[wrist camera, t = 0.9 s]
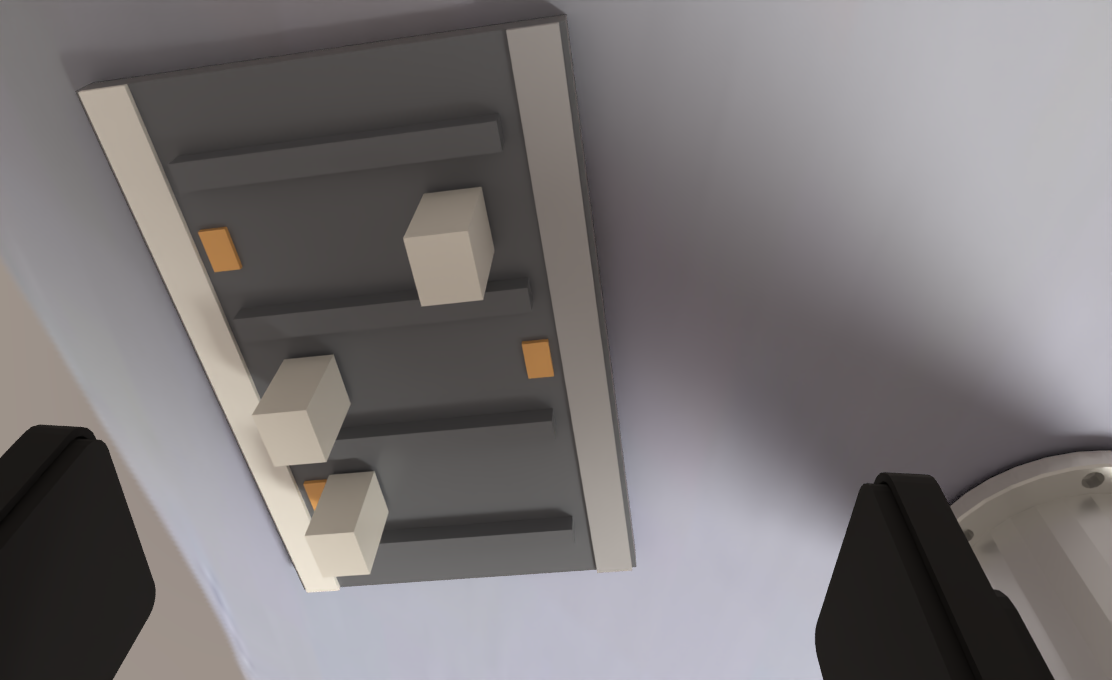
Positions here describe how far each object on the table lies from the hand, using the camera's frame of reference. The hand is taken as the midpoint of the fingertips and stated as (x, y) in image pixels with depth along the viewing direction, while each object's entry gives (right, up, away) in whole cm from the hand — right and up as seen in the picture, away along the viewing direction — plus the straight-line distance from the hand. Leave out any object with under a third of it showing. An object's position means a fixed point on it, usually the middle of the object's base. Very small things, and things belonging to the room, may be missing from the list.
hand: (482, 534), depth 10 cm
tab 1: (-8, +1, +21) cm, 23 cm away
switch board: (-5, +2, +22) cm, 23 cm away
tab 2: (-8, -4, +25) cm, 26 cm away
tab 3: (-2, +7, +17) cm, 19 cm away
